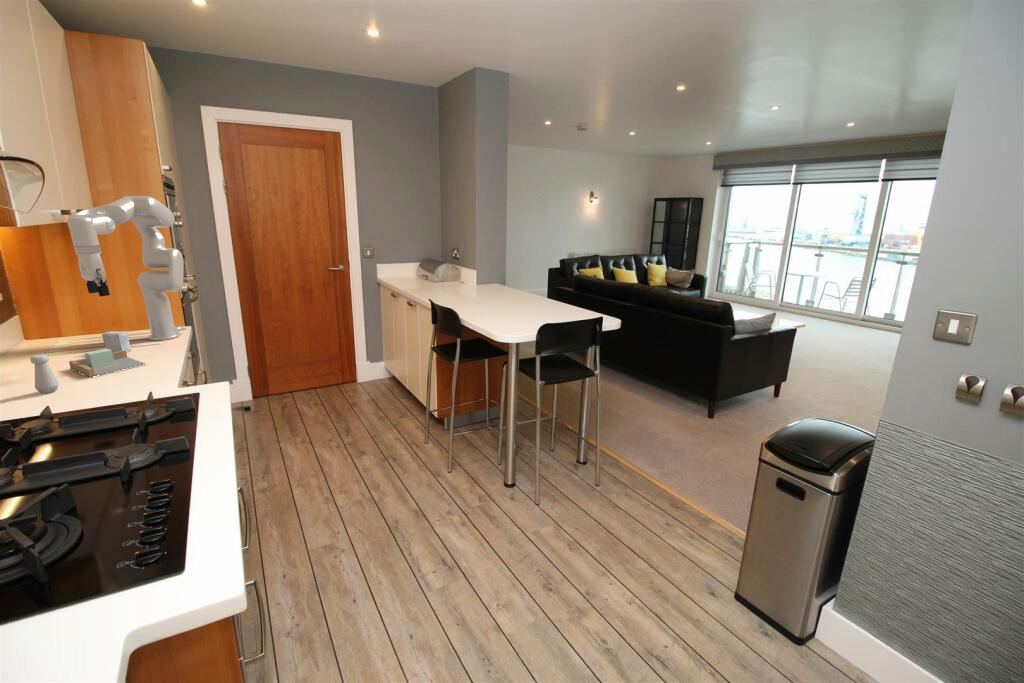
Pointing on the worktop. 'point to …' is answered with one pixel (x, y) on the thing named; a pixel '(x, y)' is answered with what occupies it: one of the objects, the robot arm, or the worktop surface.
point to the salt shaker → (44, 375)
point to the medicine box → (116, 341)
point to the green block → (100, 358)
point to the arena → (120, 363)
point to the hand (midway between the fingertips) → (99, 294)
